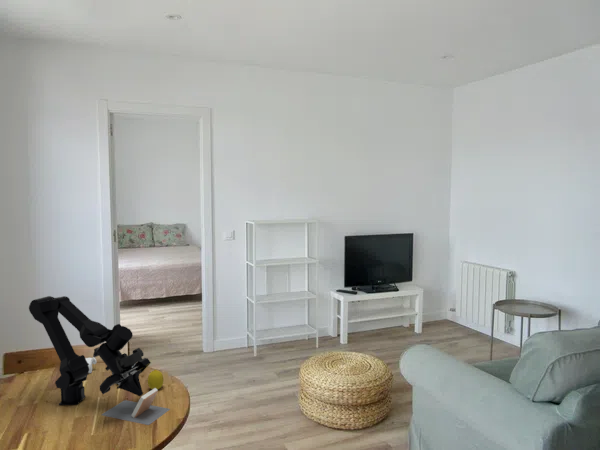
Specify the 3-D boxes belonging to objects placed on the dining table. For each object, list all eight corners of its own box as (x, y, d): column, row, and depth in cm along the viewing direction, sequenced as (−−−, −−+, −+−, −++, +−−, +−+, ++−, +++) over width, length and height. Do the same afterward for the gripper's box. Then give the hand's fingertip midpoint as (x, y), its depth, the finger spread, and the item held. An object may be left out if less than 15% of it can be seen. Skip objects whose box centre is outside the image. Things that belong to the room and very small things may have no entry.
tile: (131, 415, 143) (141, 396, 141) (145, 405, 150) (155, 387, 148) (134, 418, 143) (144, 399, 141) (148, 408, 149) (158, 390, 148)
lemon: (158, 394, 161) (158, 373, 160) (145, 393, 162) (144, 372, 162) (166, 388, 166) (165, 367, 166) (152, 387, 168) (152, 366, 167)
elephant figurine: (97, 367, 187) (97, 353, 187) (96, 374, 180) (95, 360, 179) (79, 369, 185) (79, 355, 184) (77, 376, 177) (76, 362, 177)
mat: (100, 417, 145) (100, 414, 145) (124, 402, 155) (124, 400, 155) (148, 427, 139) (148, 425, 139) (170, 411, 149) (170, 408, 149)
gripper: (105, 353, 138) (135, 392, 135) (145, 334, 155) (173, 369, 152) (86, 374, 141) (115, 413, 138) (128, 354, 158) (154, 388, 155)
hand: (141, 395), depth 146 cm, fingers closed
